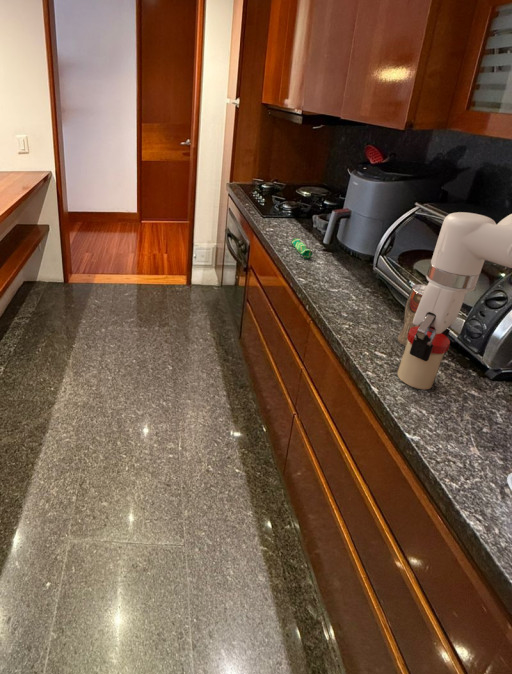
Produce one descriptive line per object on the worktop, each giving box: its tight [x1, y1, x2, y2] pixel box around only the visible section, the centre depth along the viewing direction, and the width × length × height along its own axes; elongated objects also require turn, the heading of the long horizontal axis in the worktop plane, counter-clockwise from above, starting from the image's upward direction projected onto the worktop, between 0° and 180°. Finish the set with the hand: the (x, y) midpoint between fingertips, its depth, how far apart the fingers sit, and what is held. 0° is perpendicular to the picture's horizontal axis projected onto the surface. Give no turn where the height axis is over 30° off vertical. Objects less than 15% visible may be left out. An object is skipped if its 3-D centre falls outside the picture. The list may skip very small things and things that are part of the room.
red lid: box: [407, 326, 451, 354], centre depth 81 cm, size 7×7×2 cm
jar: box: [396, 341, 445, 390], centre depth 83 cm, size 6×6×11 cm
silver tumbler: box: [396, 283, 428, 348], centre depth 94 cm, size 7×7×15 cm
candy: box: [290, 237, 313, 260], centre depth 148 cm, size 12×3×4 cm
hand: (427, 349), depth 82 cm, fingers open, 8 cm apart
